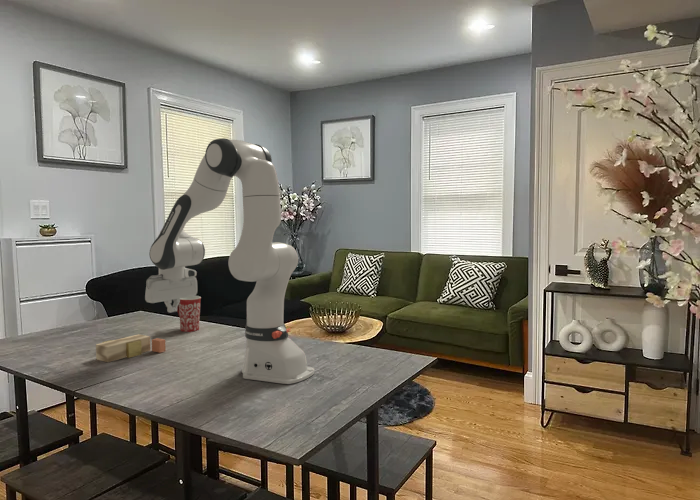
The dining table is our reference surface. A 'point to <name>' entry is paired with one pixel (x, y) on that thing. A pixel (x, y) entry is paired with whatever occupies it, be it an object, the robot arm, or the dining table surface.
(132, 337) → the block
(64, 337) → the dining table surface
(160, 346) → the orange block
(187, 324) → the mug
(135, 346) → the pin
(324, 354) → the dining table surface
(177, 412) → the dining table surface
